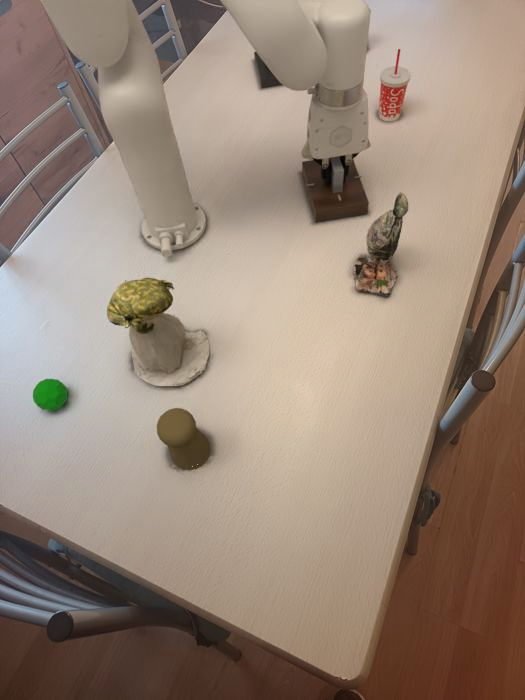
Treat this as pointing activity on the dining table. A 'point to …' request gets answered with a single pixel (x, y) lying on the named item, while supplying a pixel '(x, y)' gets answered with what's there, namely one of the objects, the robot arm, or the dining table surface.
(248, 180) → the dining table surface
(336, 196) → the dial knob base
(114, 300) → the mushroom figurine
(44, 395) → the polyhedron
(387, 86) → the beverage cup
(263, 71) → the button box
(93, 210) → the dining table surface
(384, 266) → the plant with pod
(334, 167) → the grey flat block
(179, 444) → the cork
